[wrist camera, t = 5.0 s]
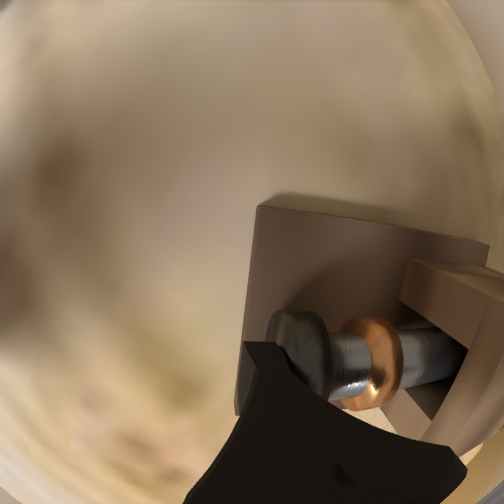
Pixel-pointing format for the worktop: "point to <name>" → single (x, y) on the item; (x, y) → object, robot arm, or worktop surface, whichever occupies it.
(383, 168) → the worktop surface
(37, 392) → the worktop surface
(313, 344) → the shaft
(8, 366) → the worktop surface
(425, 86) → the worktop surface
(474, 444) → the bearing housing
